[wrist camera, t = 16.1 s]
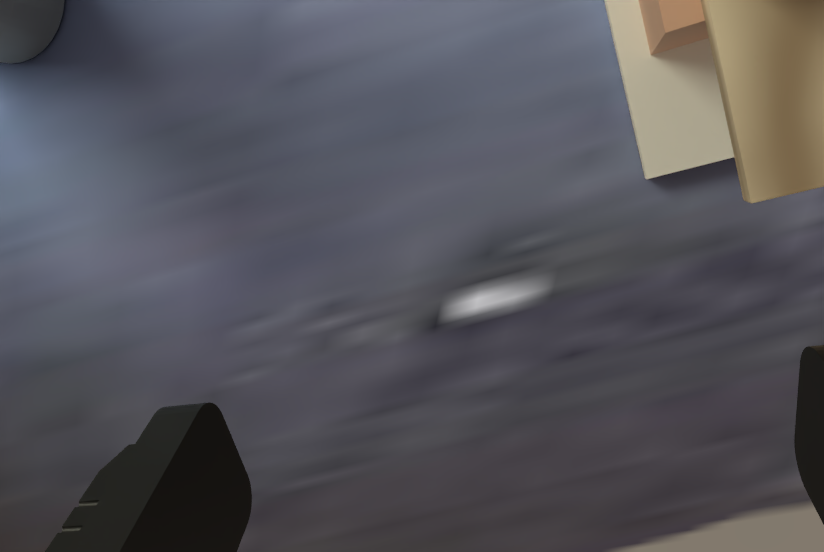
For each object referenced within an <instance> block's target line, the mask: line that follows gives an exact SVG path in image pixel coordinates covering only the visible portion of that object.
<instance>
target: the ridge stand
mask: <svg viewBox="0 0 824 552" xmlns="http://www.w3.org/2000/svg"><path fill="white" fill-rule="evenodd" d="M604 2H605V6H606V11H607V15H608V19H609V24H610V28H611V33H612V37H613V41H614V46H615V50H616V54H617V59H618V63H619V67H620V72H621V76H622V81H623V85H624V89H625V94H626V98H627V102H628V107H629V111H630V115H631V120H632V124H633V128H634V133H635V137H636V142H637V146H638V150H639V155H640V159H641V163H642V168H643V172H644V176H645V178H646V179H650V178H654V177H658V176H662V175H666V174H670V173H674V172H678V171H682V170H686V169H689V168H693V167H697V166H701V165H705V164H709V163H713V162H717V161H721V160H725V159H729V158H733V157H734V153H733V148H732V144H731V139H730V135H729V130H728V125H727V121H726V116H725V111H724V107H723V102H722V97H721V93H720V88H719V83H718V79H717V74H716V69H715V65H714V60H713V56H712V51H711V46H710V42H709V37H708V32H707V28H706V23H705V18H704V14H703V9H702V4H701V0H604Z"/></svg>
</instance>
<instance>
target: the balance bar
mask: <svg viewBox="0 0 824 552" xmlns="http://www.w3.org/2000/svg"><path fill="white" fill-rule="evenodd" d="M701 4H702V9H703V14H704V18H705V23H706V28H707V32H708V37H709V42H710V46H711V51H712V56H713V60H714V65H715V69H716V74H717V79H718V83H719V88H720V93H721V97H722V102H723V107H724V111H725V116H726V121H727V125H728V130H729V135H730V139H731V144H732V148H733V153H734V158H735V162H736V167H737V172H738V176H739V181H740V186H741V190H742V195H743V200H745V201H747V202H749V203H755V202H760V201H764V200H768V199H772V198H777V197H781V196H785V195H789V194H794V193H798V192H802V191H806V190H811V189H815V188H819V187H823V186H824V0H701Z"/></svg>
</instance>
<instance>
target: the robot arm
mask: <svg viewBox="0 0 824 552" xmlns="http://www.w3.org/2000/svg"><path fill="white" fill-rule="evenodd" d="M63 9H64V0H0V62H1V63H9V64H10V63H20V62H24V61H26V60H29V59H31V58H34V57H35V56H36V55H38V54H39V53H40V52H42V51H43V50H44V49H45V48H46V47H47V45H48V44H49V43H50V42H51V41H52V39H53V37H54V35H55V34H56V32H57V30H58V28H59V25H60V22H61V18H62V15H63ZM795 454H796V460H797V465H798V469H799V472H800V476H801V479H802V482H803V484H804V487H805V489H806V491H807V493H808V495H809V497H810V499H811V501H812V503H813V505H814V507H815V509H816V510H817V512H818V514H819V516H820V518H821V520H822V522H823V524H824V345H820V346H810V347H806V348H805V349H804V350H803V352H802V355H801V360H800V371H799V385H798V398H797V411H796V425H795ZM251 503H252V494H251V485H250V481H249V478H248V475H247V472H246V470H245V468H244V465H243V463H242V460H241V458H240V456H239V453H238V451H237V448H236V446H235V444H234V441H233V439H232V436H231V434H230V432H229V429H228V427H227V424H226V422H225V420H224V417H223V415H222V413H221V411H220V409H219V408H218V407H217V406H216V405H215V404H213V403H200V404H190V405H180V406H169V407H162V408H160V409H159V410H158V411H157V412H156V413H155V414H154V416H153V417H152V419H151V420H150V422H149V423H148V425H147V426H146V428H145V430H144V431H143V433H142V434H141V436H140V437H139V439H138V440H137V442H136V444H132V445H128V446H127V447H126V448H125V449H124V450H123V451H121V452H120V453H119V454H118V455H117V456H116V457H115V458H114V459H113V460H111V461H110V462H109V463H108V464H107V465H106V466H105V467H104V468H102V469H101V470H100V471H99V472H98V474H97V475H96V477H95V478H94V480H93V481H92V483H91V484H90V486H89V487H88V489H87V490H86V492H85V493H84V495H83V496H82V498H81V499H80V501H79V507H75V508H74V510H73V511H72V512H71V514H70V515H69V517H68V518H67V520H66V521H65V523H64V524H63V526H62V528H63V530H62V533H57V535H56V536H55V538H54V539H53V541H52V542H51V544H50V545H49V547H48V548H47V550H46V551H45V552H237V549H238V547H239V544H240V542H241V539H242V536H243V534H244V531H245V529H246V526H247V523H248V520H249V517H250V512H251Z"/></svg>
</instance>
